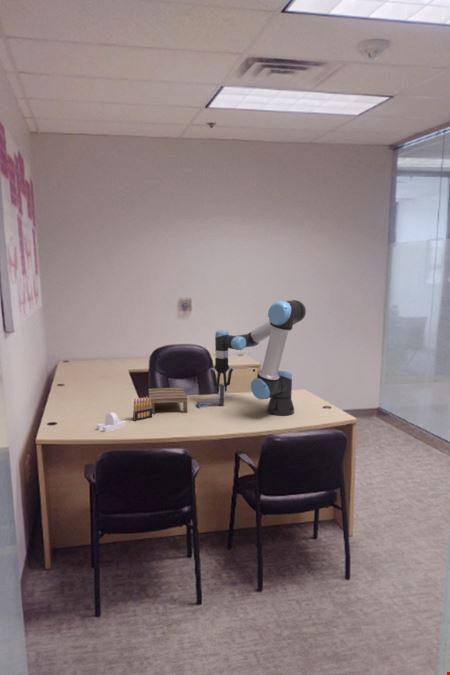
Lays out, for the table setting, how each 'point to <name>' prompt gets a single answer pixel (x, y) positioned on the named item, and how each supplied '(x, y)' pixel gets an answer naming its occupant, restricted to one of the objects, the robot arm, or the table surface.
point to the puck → (203, 405)
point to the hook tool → (220, 401)
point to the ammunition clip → (142, 409)
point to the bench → (168, 396)
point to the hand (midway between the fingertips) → (221, 396)
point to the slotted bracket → (111, 423)
